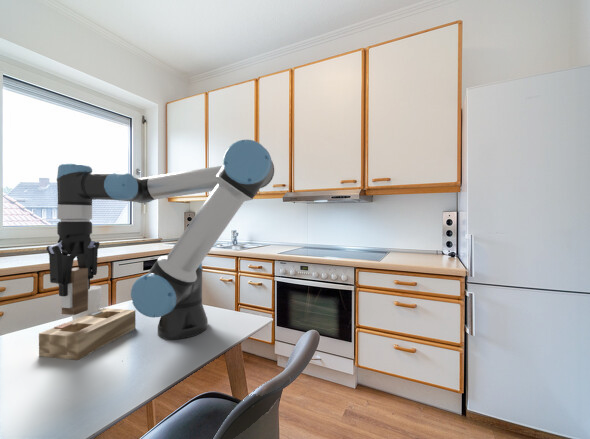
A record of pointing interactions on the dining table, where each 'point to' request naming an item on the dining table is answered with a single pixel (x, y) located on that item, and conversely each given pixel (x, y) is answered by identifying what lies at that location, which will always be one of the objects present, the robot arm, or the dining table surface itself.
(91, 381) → the dining table surface
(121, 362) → the dining table surface
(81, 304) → the plug
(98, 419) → the dining table surface
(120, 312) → the box
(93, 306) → the cup
